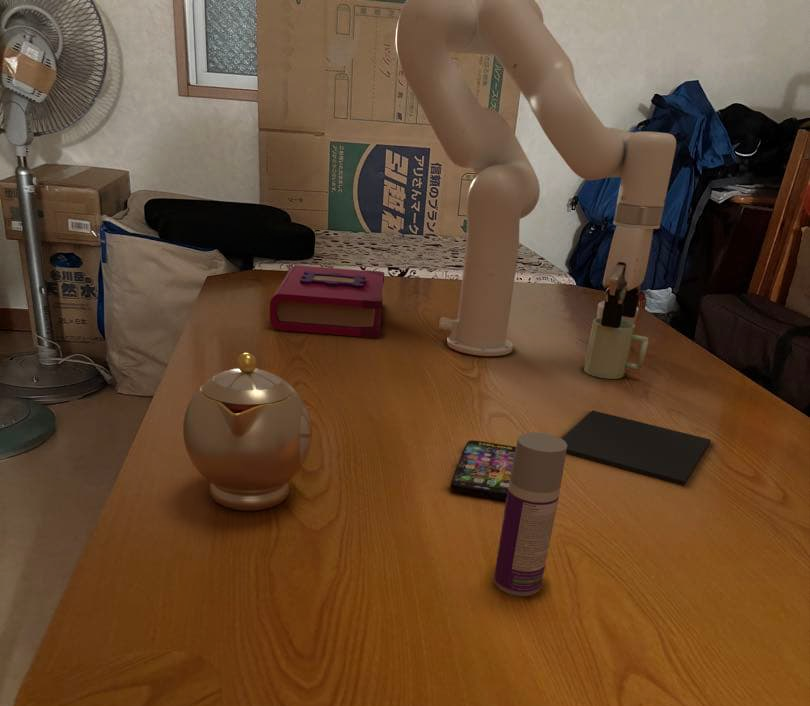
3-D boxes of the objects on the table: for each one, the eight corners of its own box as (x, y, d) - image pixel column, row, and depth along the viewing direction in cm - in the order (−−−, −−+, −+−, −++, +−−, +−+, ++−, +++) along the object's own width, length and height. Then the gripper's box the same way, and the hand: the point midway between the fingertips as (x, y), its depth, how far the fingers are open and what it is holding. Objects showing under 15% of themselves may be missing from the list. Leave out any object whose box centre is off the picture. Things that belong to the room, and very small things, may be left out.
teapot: (303, 531, 82) (306, 381, 73) (173, 523, 81) (160, 371, 73) (317, 461, 97) (321, 331, 89) (208, 454, 96) (201, 322, 88)
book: (269, 330, 147) (269, 289, 143) (288, 296, 171) (288, 261, 168) (379, 338, 148) (382, 298, 144) (382, 304, 172) (385, 269, 168)
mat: (552, 449, 107) (553, 445, 106) (591, 413, 121) (592, 410, 120) (684, 485, 100) (685, 481, 99) (709, 443, 114) (710, 439, 113)
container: (489, 569, 78) (511, 430, 70) (534, 570, 78) (561, 432, 71) (498, 596, 74) (522, 451, 66) (545, 596, 74) (575, 453, 67)
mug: (578, 372, 139) (588, 322, 135) (590, 363, 145) (600, 315, 140) (633, 385, 135) (645, 334, 131) (644, 375, 141) (655, 326, 136)
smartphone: (448, 484, 92) (467, 438, 105) (447, 491, 92) (466, 445, 105) (513, 495, 91) (525, 448, 103) (512, 502, 91) (524, 454, 104)
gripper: (629, 210, 135) (611, 309, 144) (600, 218, 122) (582, 327, 130) (672, 215, 132) (651, 316, 141) (647, 223, 119) (626, 335, 127)
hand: (618, 321), depth 136 cm, fingers open, 9 cm apart
